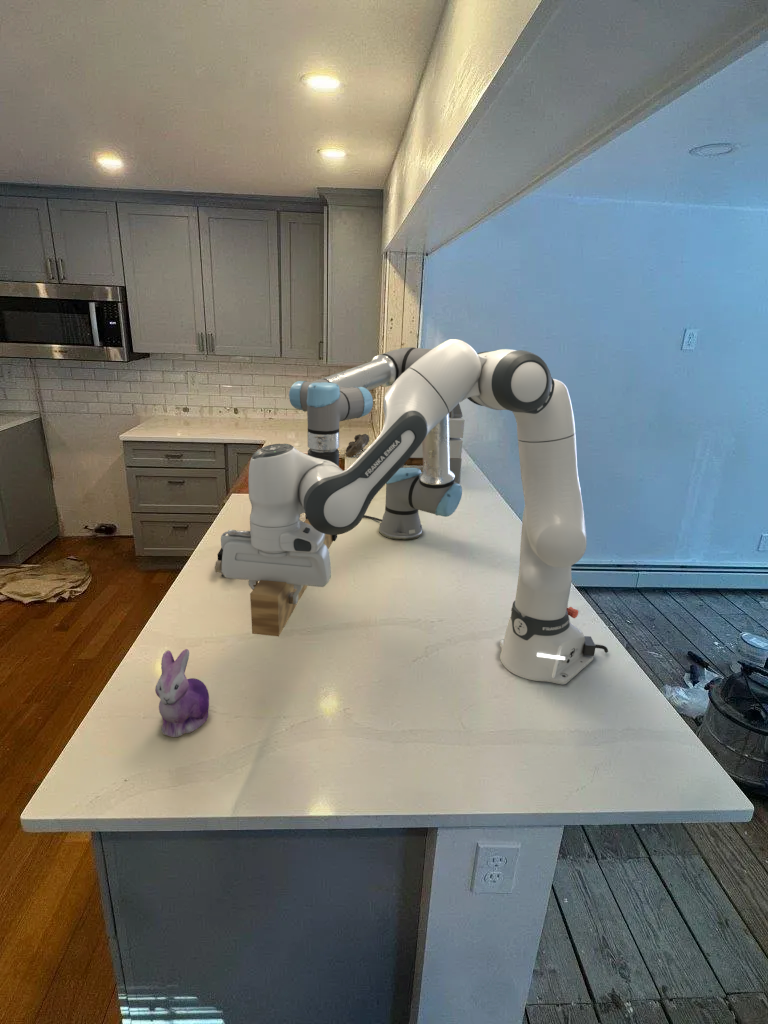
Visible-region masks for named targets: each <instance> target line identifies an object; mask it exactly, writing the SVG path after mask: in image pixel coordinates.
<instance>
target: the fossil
mask: <svg viewBox="0 0 768 1024" xmlns="http://www.w3.org/2000/svg"><path fill="white" fill-rule="evenodd" d="M369 443H370V436H369V434H367V433H363V434H361V433H360V434H356V435H355V436H354V441H349V442H348V445H347V447H346V449H345V455H346V457H348V458H351V457H354V456H356V455H357V454H359V453H361V452H362V453H363V452H364V451H365V450H364V448H365V447H366V446H368V444H369Z"/></svg>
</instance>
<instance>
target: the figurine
mask: <svg viewBox="0 0 768 1024" xmlns="http://www.w3.org/2000/svg"><path fill="white" fill-rule="evenodd" d="M189 658H190V649H187V648H184V649H183V650H182V651H181V652H180V654H179V655H178V656H177V657H176V659H175V658H174V656H173V652H171V651H170V650H167V649H166V651H165V652H163V654H162V657H161V663H160V665H161V668H160V669H161V674H160V676H159V678H158V680H157V682H156V684H155V688H154V689H155V694H156V696H157V697H158V698H159V703H158V712H159V714H160V716H161V720H162V727H161V733H162V734H163V735H164V736H168V737H171V738H179V737H181V736H183V735H184V734H191V733H192V732H194V731H196V730H197V729H199V728H201V726H203V725H204V724H205V723H207V721H208V718H209V709H210V695H209V690H208V687H207V685H206V684H205V683H204V682H203V681H202V680H200V679H198V678H195V677H194V678H191V677H190V678H187V676H186V673H185V672H186V669H187V665H188V662H189Z"/></svg>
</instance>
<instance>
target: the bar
mask: <svg viewBox="0 0 768 1024" xmlns="http://www.w3.org/2000/svg"><path fill="white" fill-rule="evenodd" d="M304 522H305V523H307V524H310V523H309V521H308V519H306V518H305V521H304ZM310 525H311V524H310ZM333 542H334V541H332V535H328V534H325V539H324V542H323V543H324V544H325V545H326V546H327V548H328V550H329V549H330V547H331V546H332V544H333ZM307 588H308V586H306V585H304V586H303V587H302V589H301V591H300V592H299V594H298V602H297V604H289V598H288V596H289V595H290V593H291V592H295V591H296V590H297V589H294V584H287V583H286V582H276V581H265V580H260V581H258V584H257V585H256V587H255V588H254V589H253V590H251V592H250V593H249V595H250V596H249V597H250V615H251V616H250V617H251V634H252V635H262V636H268V637H269V636H270V637H280V635H281V634H282V632H283V630H284V628H285V627H286V625H287V624H288V621H289V620H290V618H291V616H292V614H293V613H294V611H295V610H296V608H297V606H298V604H299V602H300V600H301V599H302V597H303V596H304V593H305V592H306V590H307Z"/></svg>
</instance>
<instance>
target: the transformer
mask: <svg viewBox="0 0 768 1024" xmlns="http://www.w3.org/2000/svg"><path fill="white" fill-rule="evenodd" d="M464 429H465V419H464V418H463V411H462V408H461V405H460V403H459V404H458V405H457V406H456V407H455V408H454V409H453V410H452V411H451V412H449V439H450V471H452V472H453V473H454V475H455V483H458V484H459V483H461V472H462V461H463V460H462V453H463V442H464V441H463V440H462V439H463V438H464V431H465V430H464ZM405 466H406V467H407V466H411V467H412V466H413V467H415V466H416V467H417V466H418V467H423V446H422V443H421V445H420V446H419V447H418V448H417V450H416V451H415V452H414V453H413V454H412V456H411V457H410V458H409V459H408V460H407V461H406V462H405V463H404V464H403V465H402V467H401V468H405Z"/></svg>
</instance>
